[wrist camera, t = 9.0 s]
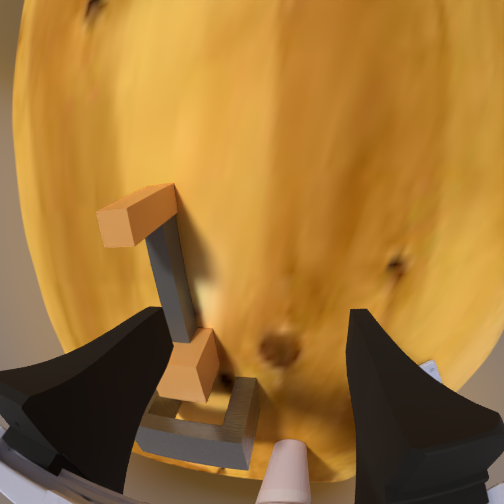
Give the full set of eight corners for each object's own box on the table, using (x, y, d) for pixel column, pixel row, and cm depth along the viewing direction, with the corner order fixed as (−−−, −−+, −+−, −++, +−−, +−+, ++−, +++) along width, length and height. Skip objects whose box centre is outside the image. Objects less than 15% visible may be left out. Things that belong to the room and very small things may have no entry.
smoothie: (252, 438, 29) (228, 547, 17) (306, 428, 27) (295, 550, 15) (276, 461, 31) (260, 557, 19) (325, 453, 29) (319, 557, 17)
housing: (259, 411, 27) (248, 470, 21) (166, 400, 29) (142, 451, 22) (255, 378, 25) (241, 443, 19) (153, 368, 27) (123, 421, 20)
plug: (220, 364, 25) (201, 418, 20) (177, 360, 26) (153, 409, 20) (187, 181, 19) (143, 206, 14) (135, 187, 20) (82, 213, 14)
